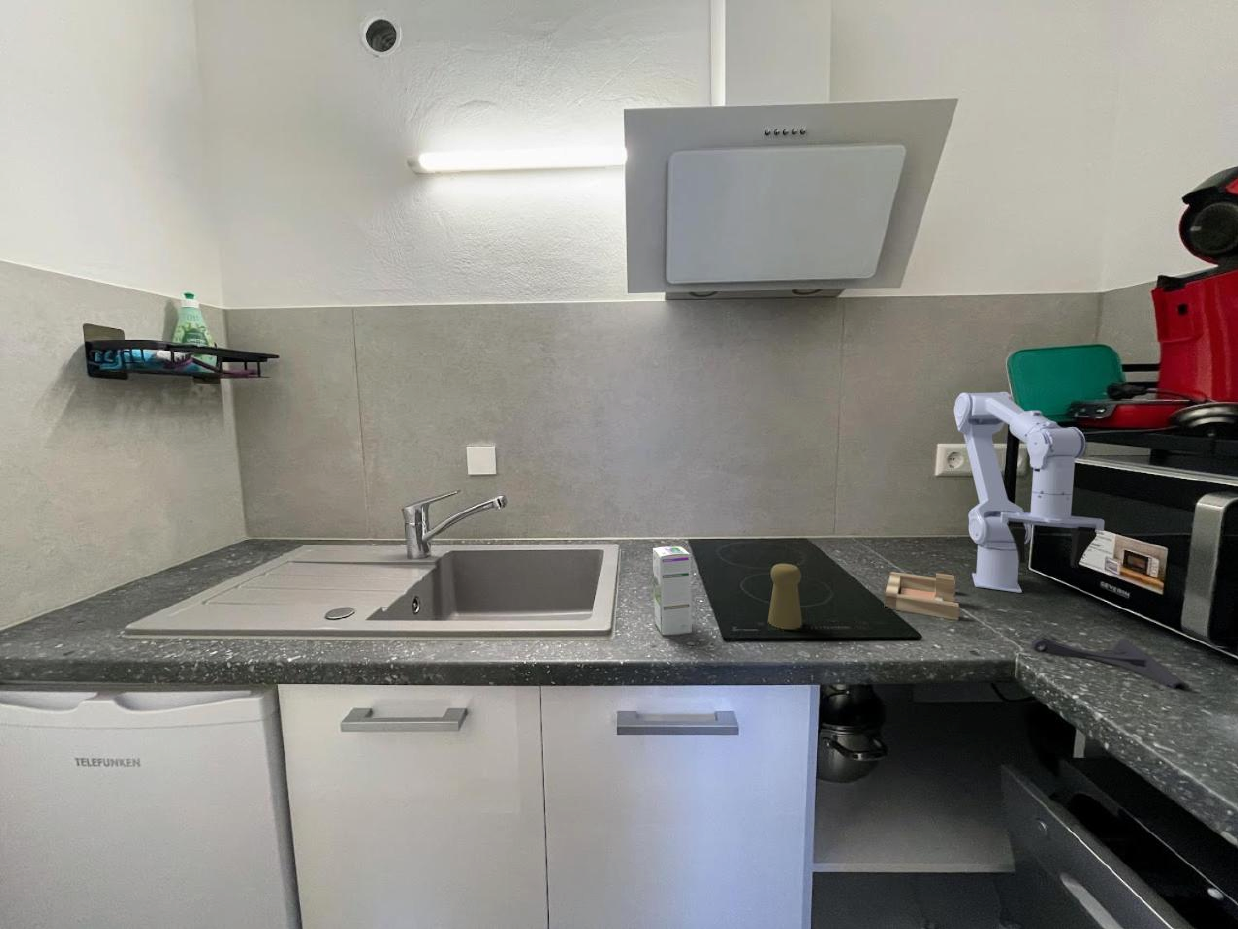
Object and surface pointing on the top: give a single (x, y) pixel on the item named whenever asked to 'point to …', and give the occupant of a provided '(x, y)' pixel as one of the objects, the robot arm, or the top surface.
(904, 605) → the tile rest
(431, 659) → the top surface
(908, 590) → the terracotta tile
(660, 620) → the syrup box
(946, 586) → the wood block with post
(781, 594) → the cork
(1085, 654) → the bracket
